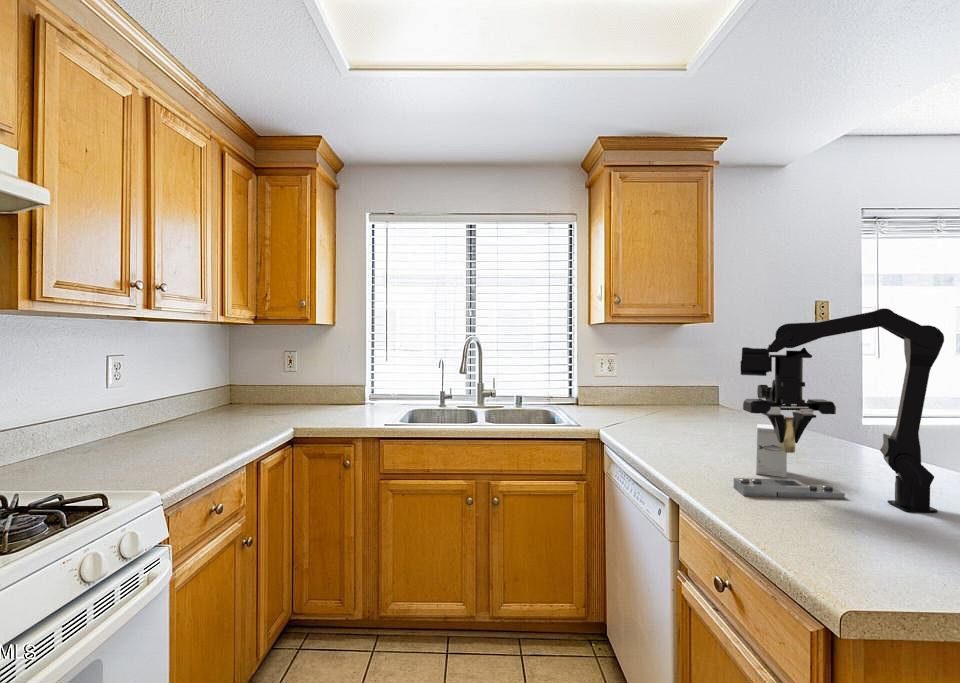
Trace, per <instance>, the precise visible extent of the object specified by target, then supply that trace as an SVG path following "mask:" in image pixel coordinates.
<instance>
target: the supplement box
mask: <svg viewBox="0 0 960 683" xmlns="http://www.w3.org/2000/svg"><path fill="white" fill-rule="evenodd" d="M755 439H756V446H755V448H756V449H755V473H756V475H764V476H771V477H772V476H773V477H780V476H781V478H787V476H788V475H787V472H788V471H787V468H788V467H787V464H788V463H787V462H788V461H787V460H788V459H787V454H788V453H786V452H782V451H781V443H779V441H778V439H777V436H776V433H775V430H774V428H773V425H772V424H762V423H761V424H760V423H757V424H756V438H755Z"/></svg>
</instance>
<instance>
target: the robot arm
mask: <svg viewBox="0 0 960 683" xmlns="http://www.w3.org/2000/svg"><path fill="white" fill-rule="evenodd" d="M875 328H882V329H884V330H885V331H887V332H889V333H891V334H893V335H894V336H896V337H897V338H900V339H901V340H903V349H904V358H905V364H906V365H905V371H904V378H903V384H902V390H901V395H900V399H899V405H898V410H897V417H896V421H895V427H894V429H893V431H892V432H891V434H887V433H884V434H883V435H882V440H883V441H882V446H881V447H880V449H879V451H880V452H881V454H882V456H883V457H882V458H883V459H884V461H885V462H886V464H887V465H888V466H889V468H890V469H891V470H892V471H894V473H895V474H896V475H895V482H894V483H895V484H894V500H892V499H890V500H887V503H888V504H890V505H892V506H894V507H896V508H898V509H900V510H902V511H904V512H915V513H916V512H917V513H938V512H939V510H938V509H937V508H934V507H933V506H931V485H932V483H933V481H934V479H935V476H934V474H932V473H931V471H929V470H928V469H927V468H926V467H925V466H924V465H922V451H921V449H922V448H921V442H920V436H919V435H920V434H919V433H920V432H919V431H920V426H921V422H922V416H923V410H924V406H925V399H926V394H927V389H928V382H929V378H930V371H931V369H932V367H933V365H934V363H935V362H936V360H937V358H938V356H939V355H940V352H941V350H942V347H943V345H944V342H945V335H944V333H943V332H942V331H941V330H940V329H939V328H938V327H936V326H933V325H929V324H928V325H925V324H924V325H923V324H922V325H921V324H919V323H917V322H915V321H913V320H911V319H909V318H906V317H904V316H902V315H900V314H898V313H896V312H894V311H893V310H892V309H890V308H886V307H885V308H878V309H876V310H873V311H869V312H864V313H859V314H852V315H849V316H843V317H839V318H833V319H828V320H823V321H822V320H821V321H816V322H795V323H793V322H792V323H784V324H782V325H780V326H779V327H778V328H777V329H776V331H775V336H774V337H775V339H774V340H773V341H772V342H771V343H770V344H768V347H767V348H763V347H761V348H758V347H756V348H754V347H746V346H745V347H741V348H742V349H741V360H740V375H741V376H752V377H753V376H754V377H755V376H756V377H759V376H760V377H767V375H768V374H767V373H772V371H773V370H772V369H773V367H772V366H773V362H772V361H773V358H774V379H772V385H771V387H770V386H768V385H767V384H758V385H757V389H756V390H757V398H745V400H743V403H742V410H743V411H746V412H748V413H751V414H762V415H764V416H766V417H767V418H768V419H769V421H770V423H771V425H773V428H774V430H775V433H776V436H777V439H778V441H779V443H782V442H783V431H784V417H785V415H784V414H782V413H781V411H792V417H794V418H796V422H795V444H798V443H799V441H800V439H801V437H802V435H803V433H804V431H805V430H806V428H807V426H808V425H809V424H810V422H811V421H812V419H813V418H814V419H816V418H817V415H816V414H814V411H815V412H819V413H820V414H822V415H836V414H837V407H836V404H835V403H834V401H831V400H827V399H823V398H822V399H819V398H818V399H817V398H816V399H814V398H813V399H812V398H807V401H806V400H805V399H803V388H806V381H803V378H804V376H803V373H804V372H803V370H804V369H803V368H804V366H803V364H804V363H803V362H804V361H803V360H804V359H812V357H813V355H812V354H811V353H810V352H808V351H807V349H806V348H805V347H802V348H801V349H800V350H785V354H770V353H778V352H780V351H781V350H783V349H794V348H797V347H799V346H802V345H803V346H804V345H805V344H808V343H811V342H813V341H816V340H819V339H822V338H827V337H831V336H837V335H842V334H848V333H852V332H858V331H864V330H869V329H875Z"/></svg>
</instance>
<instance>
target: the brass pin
mask: <svg viewBox="0 0 960 683" xmlns="http://www.w3.org/2000/svg"><path fill="white" fill-rule="evenodd" d="M795 422H796V418H794V417H793V416H784V431H783V442H782V443H781V451H782V452H786V453H787V454H788V453H789V454H793V453H796V443H795Z"/></svg>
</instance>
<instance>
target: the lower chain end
mask: <svg viewBox="0 0 960 683" xmlns="http://www.w3.org/2000/svg"><path fill="white" fill-rule="evenodd" d="M805 485H806V486H808V487H810V493H799V492H777V497H776V498H794V499H795V498H796V499H797V498H798V499H799V498H800V499H801V498H803V499H831V500H833V499H837V500H845V497H846V496H845V493H844V492H842V491H841V490H839V489H836V488H835V487H834V486H832V485H829V484H805ZM782 486H788V485H782Z"/></svg>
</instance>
